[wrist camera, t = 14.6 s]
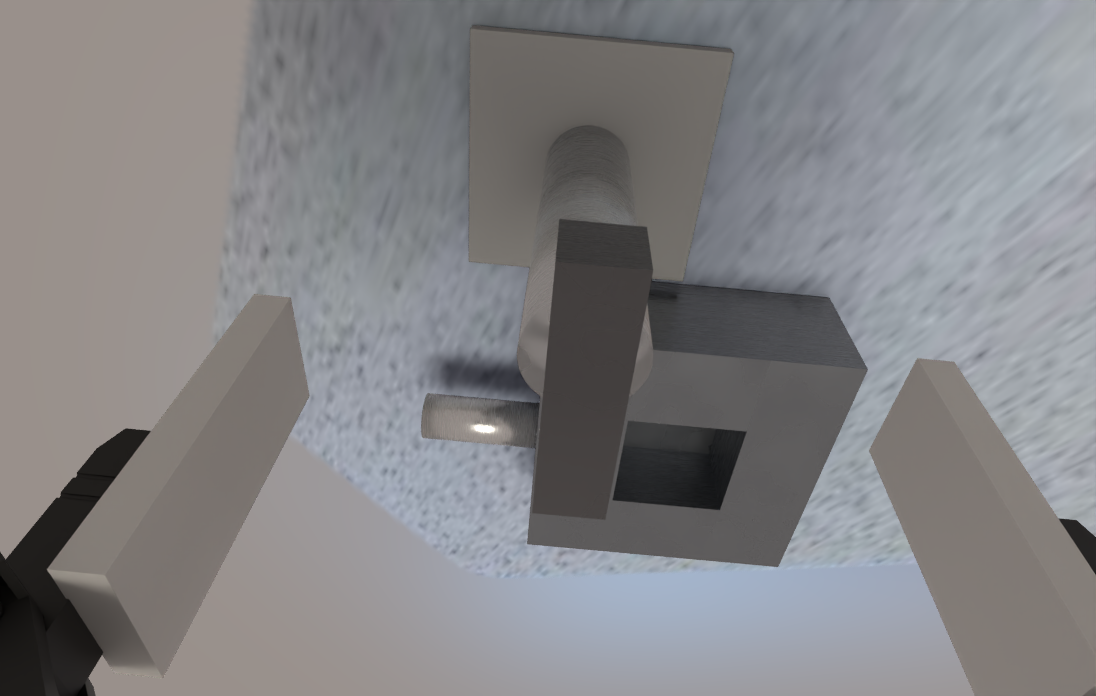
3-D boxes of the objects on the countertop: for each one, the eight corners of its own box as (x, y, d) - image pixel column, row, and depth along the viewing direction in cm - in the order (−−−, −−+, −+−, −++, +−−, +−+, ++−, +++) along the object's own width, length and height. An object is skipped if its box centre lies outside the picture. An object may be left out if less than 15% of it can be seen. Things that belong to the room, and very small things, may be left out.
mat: (472, 25, 23) (469, 28, 23) (731, 48, 23) (734, 53, 23) (470, 254, 29) (468, 261, 28) (681, 274, 29) (682, 281, 28)
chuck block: (436, 261, 29) (410, 327, 25) (829, 298, 29) (867, 369, 25) (441, 458, 36) (422, 534, 32) (757, 487, 36) (778, 566, 32)
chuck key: (617, 253, 28) (633, 522, 16) (539, 246, 28) (503, 510, 16) (644, 75, 23) (691, 274, 12) (552, 66, 23) (517, 258, 12)
